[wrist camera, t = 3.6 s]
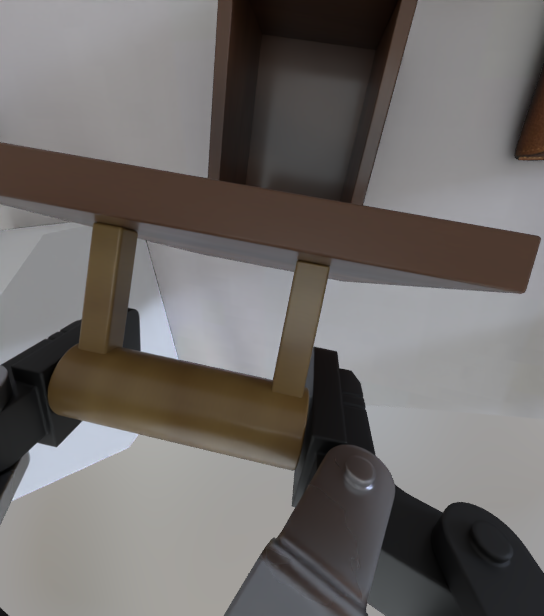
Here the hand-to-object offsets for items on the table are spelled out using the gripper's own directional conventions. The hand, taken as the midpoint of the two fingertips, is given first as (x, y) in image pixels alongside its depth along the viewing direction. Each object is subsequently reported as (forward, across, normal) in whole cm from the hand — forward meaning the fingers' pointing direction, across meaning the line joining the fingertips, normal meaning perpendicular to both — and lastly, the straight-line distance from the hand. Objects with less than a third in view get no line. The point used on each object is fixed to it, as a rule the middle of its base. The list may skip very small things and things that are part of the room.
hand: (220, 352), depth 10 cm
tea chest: (+21, 0, -8) cm, 23 cm away
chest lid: (+4, 0, -3) cm, 5 cm away
